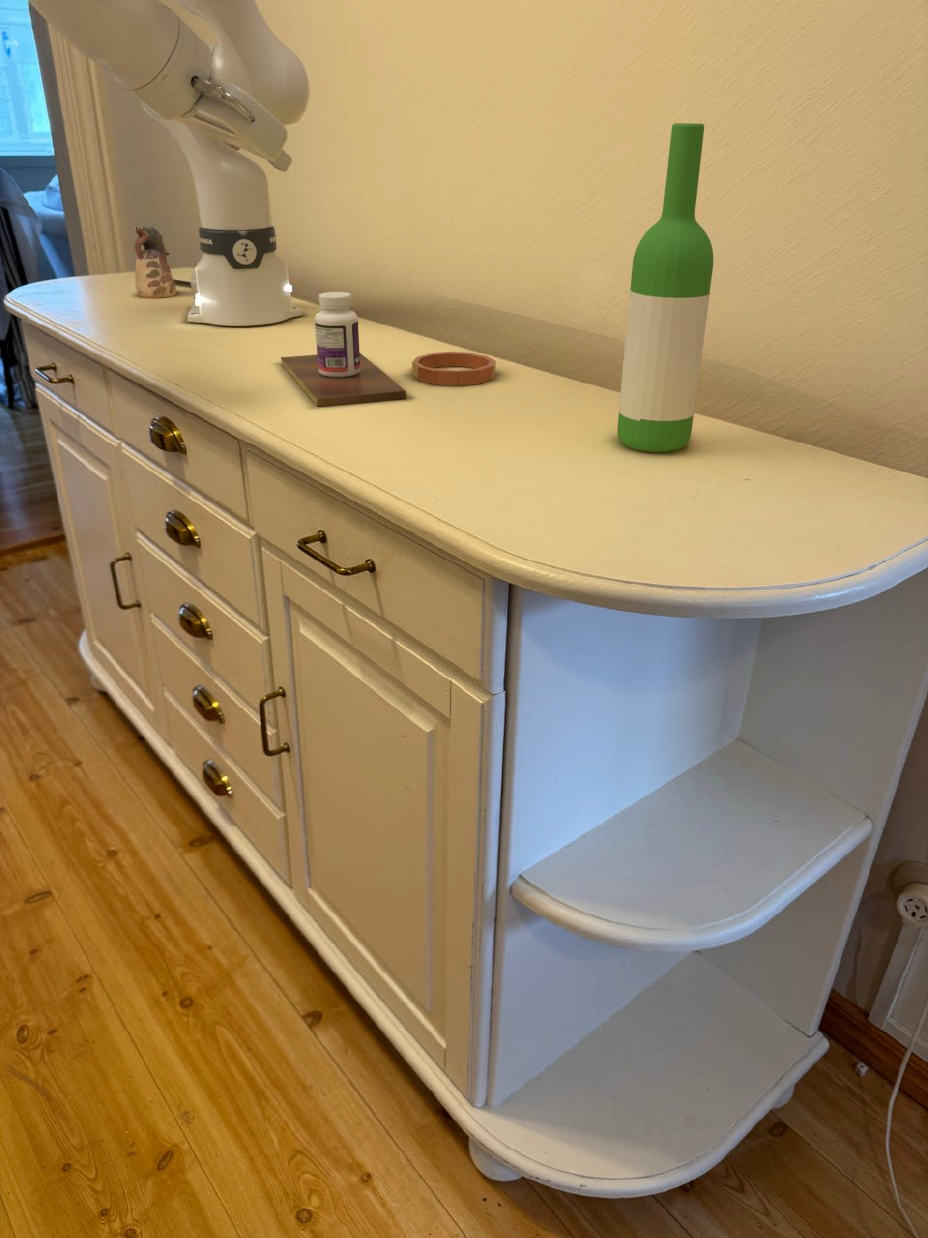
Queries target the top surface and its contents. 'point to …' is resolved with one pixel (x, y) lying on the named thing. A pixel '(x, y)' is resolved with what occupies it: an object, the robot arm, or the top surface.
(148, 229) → the figurine
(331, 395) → the board
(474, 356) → the ring
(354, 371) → the pill bottle
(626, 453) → the top surface
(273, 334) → the top surface
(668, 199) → the wine bottle
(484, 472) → the top surface
